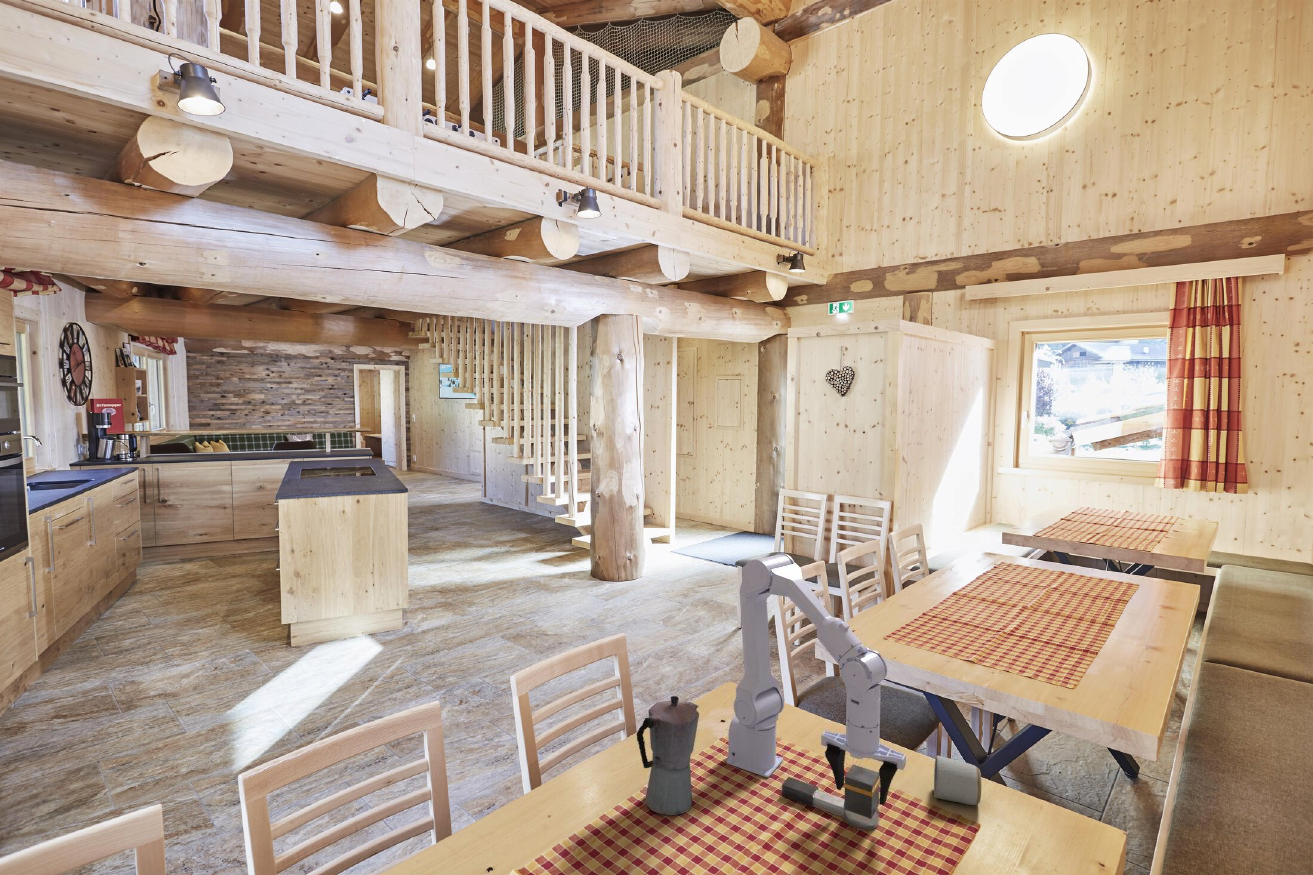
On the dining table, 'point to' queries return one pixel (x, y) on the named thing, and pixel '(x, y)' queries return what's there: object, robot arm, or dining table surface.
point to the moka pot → (669, 755)
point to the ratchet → (826, 803)
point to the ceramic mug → (957, 781)
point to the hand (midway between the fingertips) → (861, 794)
